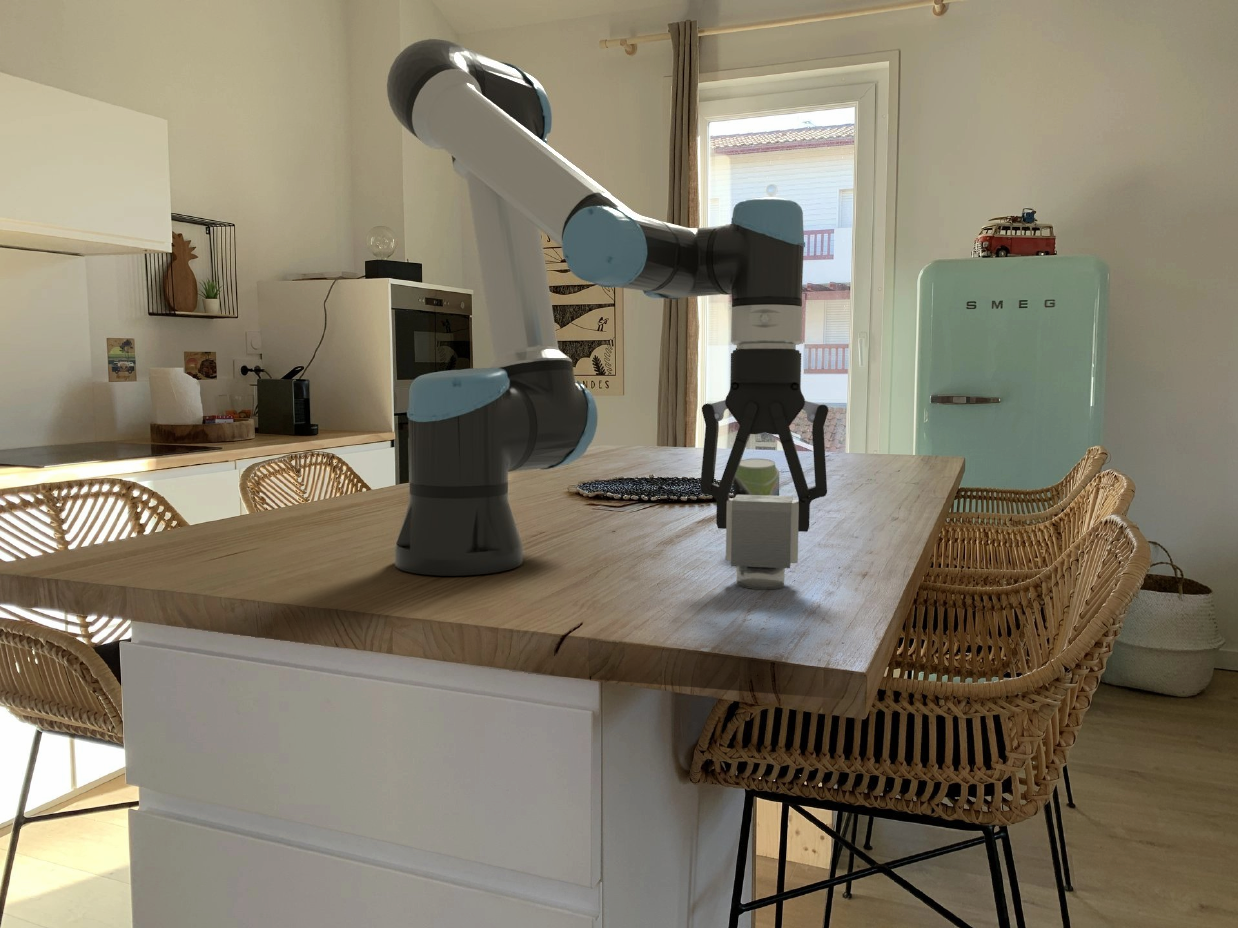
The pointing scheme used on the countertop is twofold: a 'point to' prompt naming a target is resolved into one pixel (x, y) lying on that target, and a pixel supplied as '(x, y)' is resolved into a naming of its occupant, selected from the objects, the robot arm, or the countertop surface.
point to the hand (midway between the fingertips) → (762, 559)
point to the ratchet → (760, 577)
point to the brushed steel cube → (761, 531)
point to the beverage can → (756, 478)
